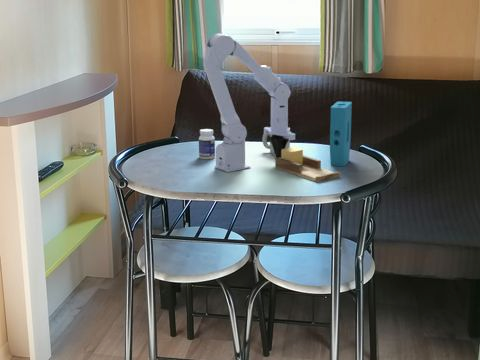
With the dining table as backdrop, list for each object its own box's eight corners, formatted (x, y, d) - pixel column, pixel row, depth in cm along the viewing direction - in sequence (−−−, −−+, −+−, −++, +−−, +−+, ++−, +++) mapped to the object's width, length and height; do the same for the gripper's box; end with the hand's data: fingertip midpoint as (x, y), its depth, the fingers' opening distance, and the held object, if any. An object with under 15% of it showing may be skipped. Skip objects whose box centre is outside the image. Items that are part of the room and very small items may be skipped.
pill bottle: (214, 159, 237) (214, 131, 234) (198, 159, 237) (197, 131, 234) (215, 155, 242) (214, 128, 239) (199, 155, 242) (198, 128, 240)
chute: (317, 182, 208) (317, 171, 207) (275, 168, 225) (275, 157, 224) (339, 177, 213) (340, 166, 212) (297, 163, 230) (297, 153, 229)
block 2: (343, 167, 224) (345, 108, 219) (328, 166, 226) (330, 107, 220) (350, 158, 235) (352, 102, 229) (336, 157, 237) (337, 101, 231)
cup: (288, 155, 241) (288, 130, 239) (260, 154, 243) (260, 130, 241) (290, 150, 248) (291, 126, 246) (264, 149, 250) (263, 125, 248)
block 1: (290, 166, 221) (291, 152, 220) (281, 163, 225) (281, 149, 224) (302, 164, 224) (302, 149, 223) (292, 161, 228) (293, 147, 227)
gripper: (302, 119, 223) (301, 159, 226) (275, 113, 234) (275, 151, 238) (285, 122, 219) (285, 162, 222) (258, 115, 230) (259, 154, 234)
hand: (279, 157), depth 230 cm, fingers closed
